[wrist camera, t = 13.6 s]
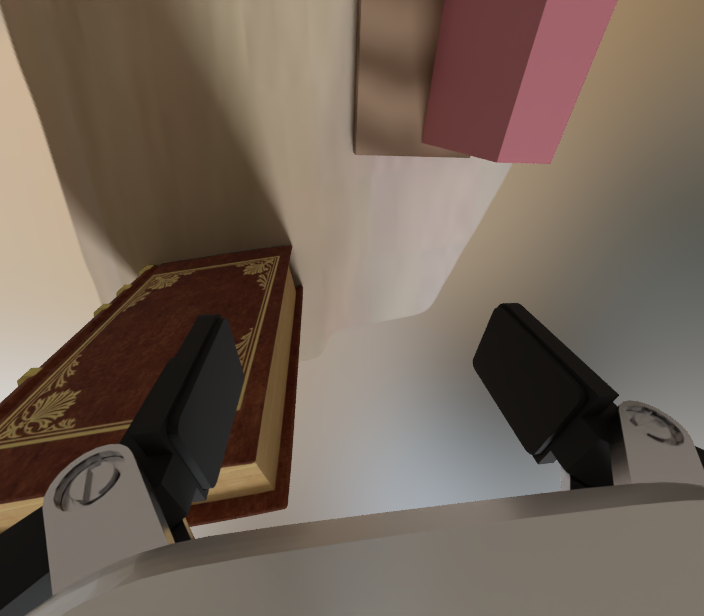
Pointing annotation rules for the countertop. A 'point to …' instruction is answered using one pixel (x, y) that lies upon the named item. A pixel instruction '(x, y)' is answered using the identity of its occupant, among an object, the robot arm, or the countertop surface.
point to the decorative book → (143, 371)
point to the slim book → (510, 75)
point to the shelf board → (395, 77)
